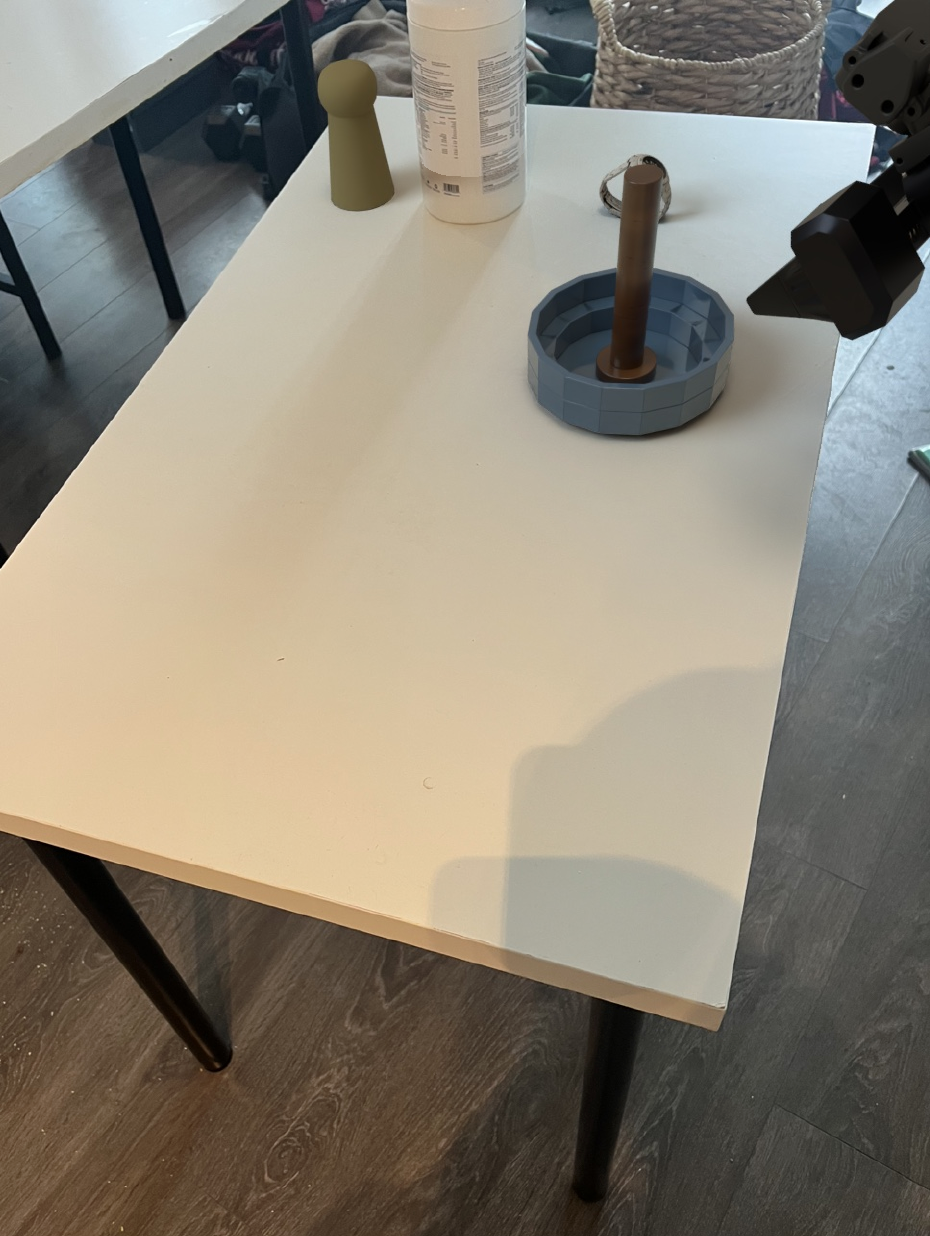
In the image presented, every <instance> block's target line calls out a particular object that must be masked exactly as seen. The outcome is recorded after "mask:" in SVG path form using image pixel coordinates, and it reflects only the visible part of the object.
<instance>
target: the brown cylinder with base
mask: <svg viewBox="0 0 930 1236" xmlns="http://www.w3.org/2000/svg"><path fill="white" fill-rule="evenodd" d="M662 183H663V171H662V170H661V169H660V168H659V167H657V166H654V165H648V164H641V165H636V166H633V167H630V168H629V169H627V170H625V171H624V172H623V181H622V194H621V195H622V196H621V201H622V206H621V218H619V220H620V222H619V232H618V233H619V235H618V245H617V246H618V247H617V261H616V268H617V272H616V285H615V298H614V311H613V325H612V338H611V345H609V346H607V347H605V348H603V349H602V350H601V351H600V352H599V354H598V355H597V358H596V368H595V372H596V376H597V378H598V379H599V380H600V381H601V382H604V383H629V384H646V383H649V382H650V381H651V380H652V379H653V378H654V376H655V374H656V367H657V357H656V354H655V353H654V351H653V350H652V349H650V348H649V347H647V346H645V340H646V330H647V321H648V312H649V303H650V294H651V284H652V275H653V268H654V266H655V257H656V256H655V255H656V248H657V239H658V238H657V237H658V229H659V221H660V219H659V211H660V210H661V202H662V201H661V200H662V197H661V193H662Z"/></svg>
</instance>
